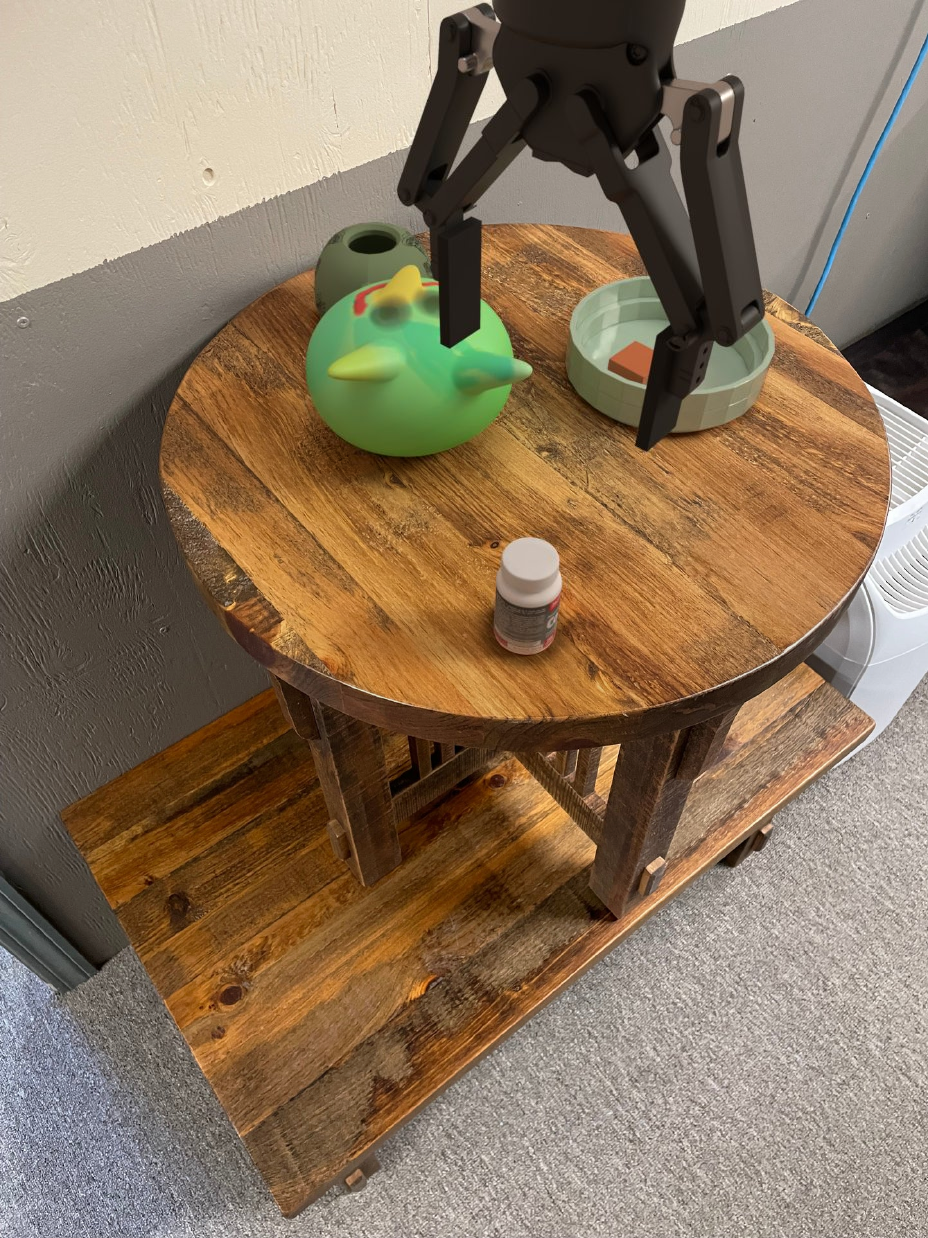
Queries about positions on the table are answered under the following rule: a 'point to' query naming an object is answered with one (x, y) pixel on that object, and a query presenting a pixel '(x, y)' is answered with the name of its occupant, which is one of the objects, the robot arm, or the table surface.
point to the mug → (365, 260)
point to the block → (632, 362)
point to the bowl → (640, 316)
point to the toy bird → (407, 370)
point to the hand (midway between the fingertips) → (552, 383)
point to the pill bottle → (527, 596)
